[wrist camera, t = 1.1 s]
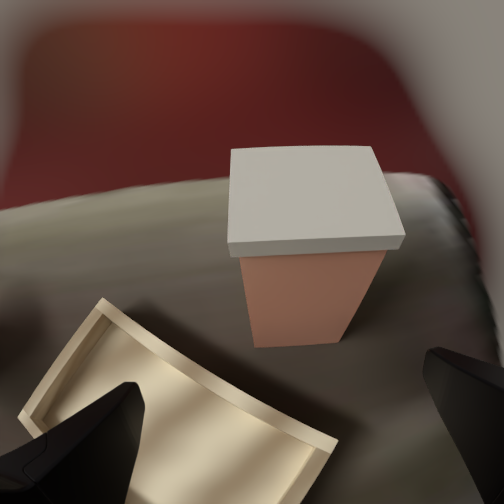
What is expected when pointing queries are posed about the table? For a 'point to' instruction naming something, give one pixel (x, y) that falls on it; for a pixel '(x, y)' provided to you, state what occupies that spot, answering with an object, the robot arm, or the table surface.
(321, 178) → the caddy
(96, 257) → the table surface
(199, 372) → the tray
